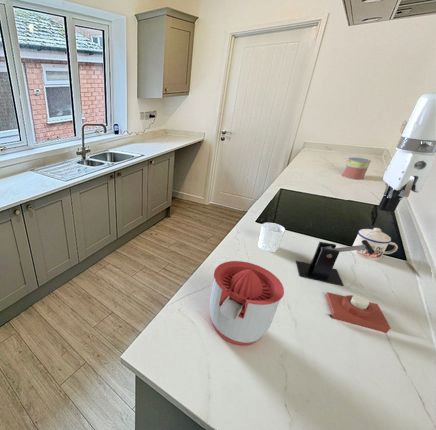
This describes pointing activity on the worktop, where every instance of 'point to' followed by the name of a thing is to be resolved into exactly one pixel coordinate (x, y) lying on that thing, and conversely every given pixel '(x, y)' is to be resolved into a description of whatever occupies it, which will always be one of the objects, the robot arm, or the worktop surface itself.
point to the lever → (354, 247)
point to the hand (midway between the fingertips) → (385, 209)
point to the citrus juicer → (243, 301)
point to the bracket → (321, 265)
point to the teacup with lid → (373, 243)
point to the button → (359, 302)
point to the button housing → (357, 313)
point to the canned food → (356, 168)
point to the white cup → (270, 236)
